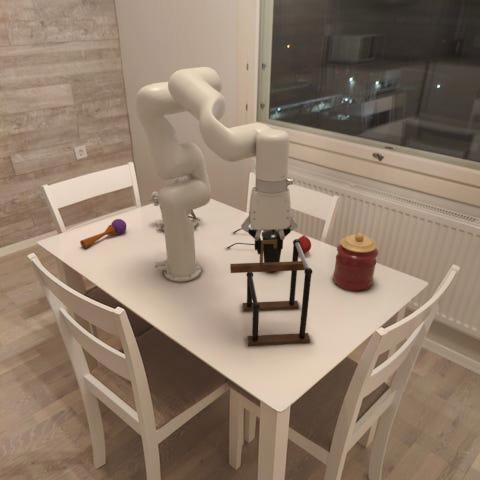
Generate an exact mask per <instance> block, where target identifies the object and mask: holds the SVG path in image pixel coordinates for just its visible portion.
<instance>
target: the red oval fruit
mask: <svg viewBox="0 0 480 480" xmlns="http://www.w3.org/2000/svg"><path fill="white" fill-rule="evenodd" d="M297 239H298V240H299V241H300V246H301V249H302V251H303V254H304V255H305V254H307V253H308V252H310V251H311V249H312V242H311V240H310V239H309V237H307V236H306V234H303V235H302V236H300V237H298V238H297Z"/></svg>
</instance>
